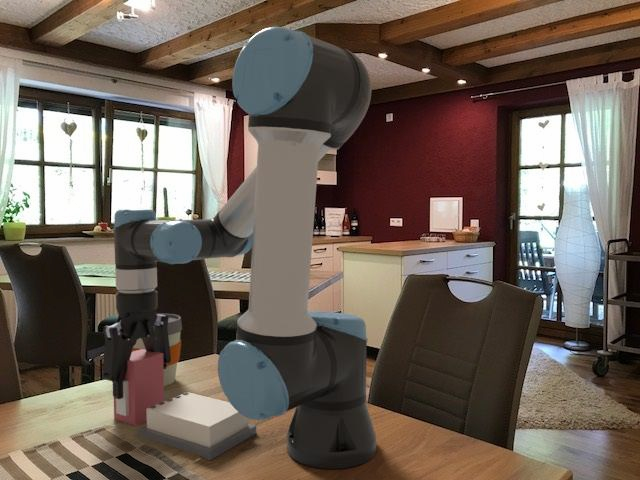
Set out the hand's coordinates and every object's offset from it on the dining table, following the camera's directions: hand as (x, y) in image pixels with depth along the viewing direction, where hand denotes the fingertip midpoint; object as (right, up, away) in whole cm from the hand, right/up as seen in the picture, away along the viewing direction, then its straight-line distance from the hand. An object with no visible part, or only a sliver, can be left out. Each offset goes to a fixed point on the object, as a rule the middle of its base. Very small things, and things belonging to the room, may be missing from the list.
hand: (139, 407), depth 104 cm
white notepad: (+13, -3, -8) cm, 16 cm away
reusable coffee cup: (-3, -1, +21) cm, 21 cm away
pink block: (0, -2, 0) cm, 2 cm away
